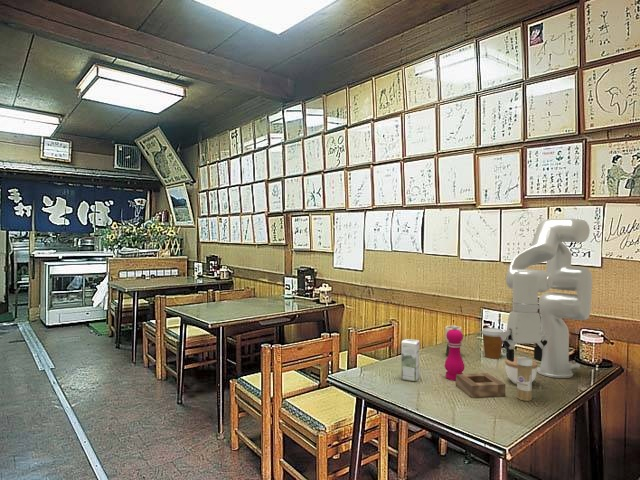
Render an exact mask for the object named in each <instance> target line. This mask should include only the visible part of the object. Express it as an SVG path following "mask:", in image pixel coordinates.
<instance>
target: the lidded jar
mask: <svg viewBox="0 0 640 480" xmlns="http://www.w3.org/2000/svg"><path fill="white" fill-rule="evenodd" d="M517 358H518V357H514V361H513V362H511V361H509V360H507V358H506V359H505V361H504V363H505V372H506V375H507V377H508V379H509V380H510V381H511V382H512V383H513V384H515V385H517V378H518V364H517ZM537 367H538V363H537V362H536V361H534V360H532V382H534V380H535V379H536V377H537V373H538V372H537Z"/></svg>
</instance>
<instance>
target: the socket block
mask: <svg viewBox="0 0 640 480" xmlns="http://www.w3.org/2000/svg"><path fill="white" fill-rule="evenodd" d="M455 386H456V387H457V386H458V387H457V388H459V389H460V390H461V391H463V392H464V393H465V394H466V395H467V396H468V397H470V398H471V399H475V398H491V397H492V398H495V397H506V383H504V382H502V381H501V380H499V379H498V378H496V377H495V376H493V375H492V374H490V373H489V372H481V373H463V374H456V380H455Z"/></svg>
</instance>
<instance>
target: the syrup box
mask: <svg viewBox="0 0 640 480" xmlns="http://www.w3.org/2000/svg"><path fill="white" fill-rule="evenodd" d="M400 347H401V353H400V354H401V359H400V360H401V367H400V368H401V369H400V371H401V373H400V375H401V376H400V377H401V380H402V381H409V382H417V381H418V379H420V340H419V339H411V338H409V339H408V338H404V339H403V340H401V346H400Z"/></svg>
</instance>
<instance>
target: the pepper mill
mask: <svg viewBox="0 0 640 480" xmlns="http://www.w3.org/2000/svg"><path fill="white" fill-rule="evenodd" d="M452 326H453V327H452V329H451V330H449V331H448V332H447V335H446V337H447V339H448V341H449V342H447V344H448V346H449V355H447V357H446V359H445V362H444V368H445V370H446V372H445V377H446V379H448V380H451V381H456V374H464V373H463V372H464V370H465V362H464V360H463V357H462V355H460V354H461V348H462V341H463V339H464V335H463V331H462V332H461V331H459V330H457V326H458V325H455V324H454V325H452Z"/></svg>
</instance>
